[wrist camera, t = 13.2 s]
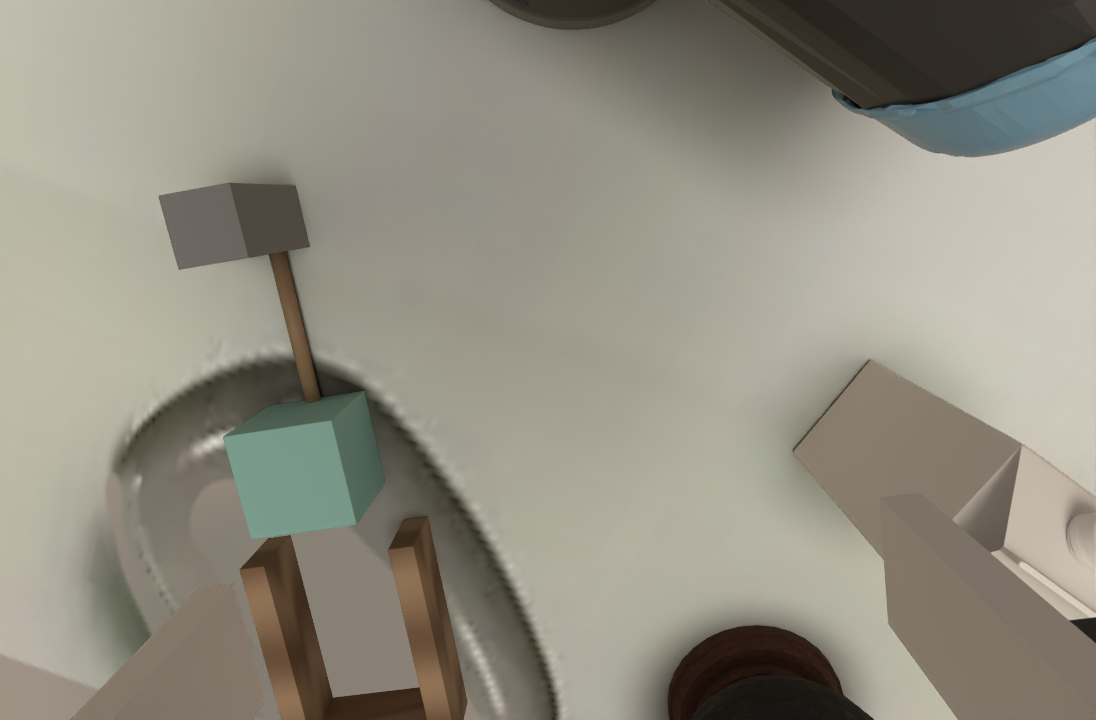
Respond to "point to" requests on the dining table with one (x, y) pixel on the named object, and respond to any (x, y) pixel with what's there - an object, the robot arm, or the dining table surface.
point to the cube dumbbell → (314, 423)
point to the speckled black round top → (758, 680)
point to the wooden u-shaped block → (295, 654)
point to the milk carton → (956, 482)
